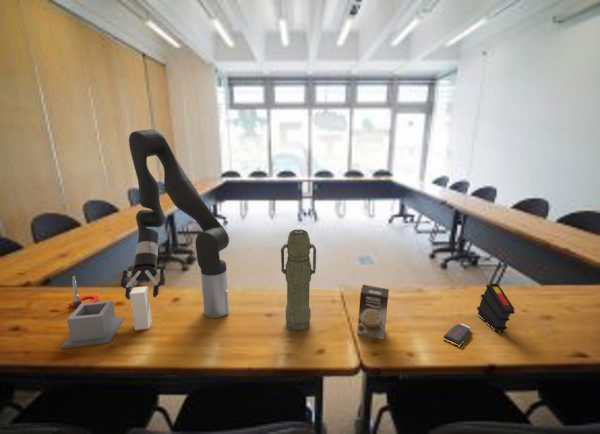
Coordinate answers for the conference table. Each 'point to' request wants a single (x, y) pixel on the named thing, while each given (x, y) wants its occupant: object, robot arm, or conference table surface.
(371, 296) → the coffee box
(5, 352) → the conference table surface
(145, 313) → the white square block
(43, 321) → the conference table surface
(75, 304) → the tow hook
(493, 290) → the black ridged case
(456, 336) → the usb drive
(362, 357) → the conference table surface
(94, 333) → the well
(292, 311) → the thermos
